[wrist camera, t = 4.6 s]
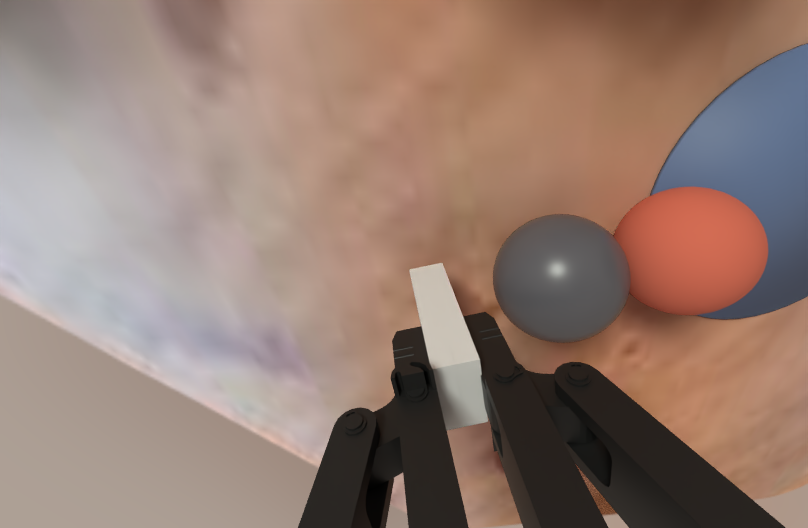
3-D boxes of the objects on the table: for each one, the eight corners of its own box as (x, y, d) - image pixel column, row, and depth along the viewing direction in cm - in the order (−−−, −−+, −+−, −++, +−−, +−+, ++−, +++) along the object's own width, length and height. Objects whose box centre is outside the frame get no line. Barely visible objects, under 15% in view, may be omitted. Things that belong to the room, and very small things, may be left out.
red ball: (719, 192, 19) (842, 235, 15) (654, 287, 22) (742, 353, 17) (627, 157, 18) (728, 191, 13) (568, 262, 20) (635, 325, 15)
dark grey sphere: (449, 281, 17) (494, 226, 21) (520, 380, 18) (551, 309, 22) (569, 226, 13) (595, 172, 17) (653, 355, 14) (660, 275, 18)
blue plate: (996, 103, 19) (1002, 103, 18) (784, 339, 24) (788, 341, 24) (775, -22, 15) (781, -23, 15) (590, 283, 21) (592, 284, 21)
